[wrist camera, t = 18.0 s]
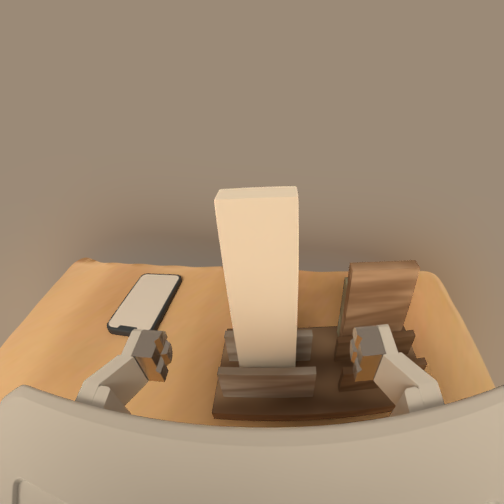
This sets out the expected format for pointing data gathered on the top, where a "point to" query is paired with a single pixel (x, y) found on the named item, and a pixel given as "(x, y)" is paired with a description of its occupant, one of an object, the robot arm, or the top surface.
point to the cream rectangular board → (261, 271)
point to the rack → (303, 381)
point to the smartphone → (145, 304)
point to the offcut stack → (377, 295)
